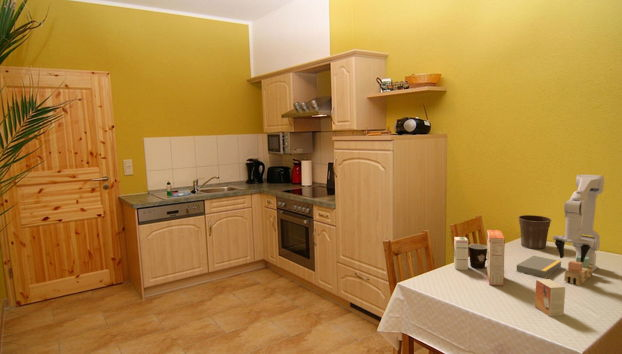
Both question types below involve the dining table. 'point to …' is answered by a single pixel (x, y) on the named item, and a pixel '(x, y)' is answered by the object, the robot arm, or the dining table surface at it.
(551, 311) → the small box
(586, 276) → the tan piece
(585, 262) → the green cube
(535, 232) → the plant pot
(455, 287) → the dining table surface
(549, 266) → the dock
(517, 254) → the dining table surface
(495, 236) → the cracker box
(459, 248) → the syrup box
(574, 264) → the brick block
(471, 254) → the coffee mug
